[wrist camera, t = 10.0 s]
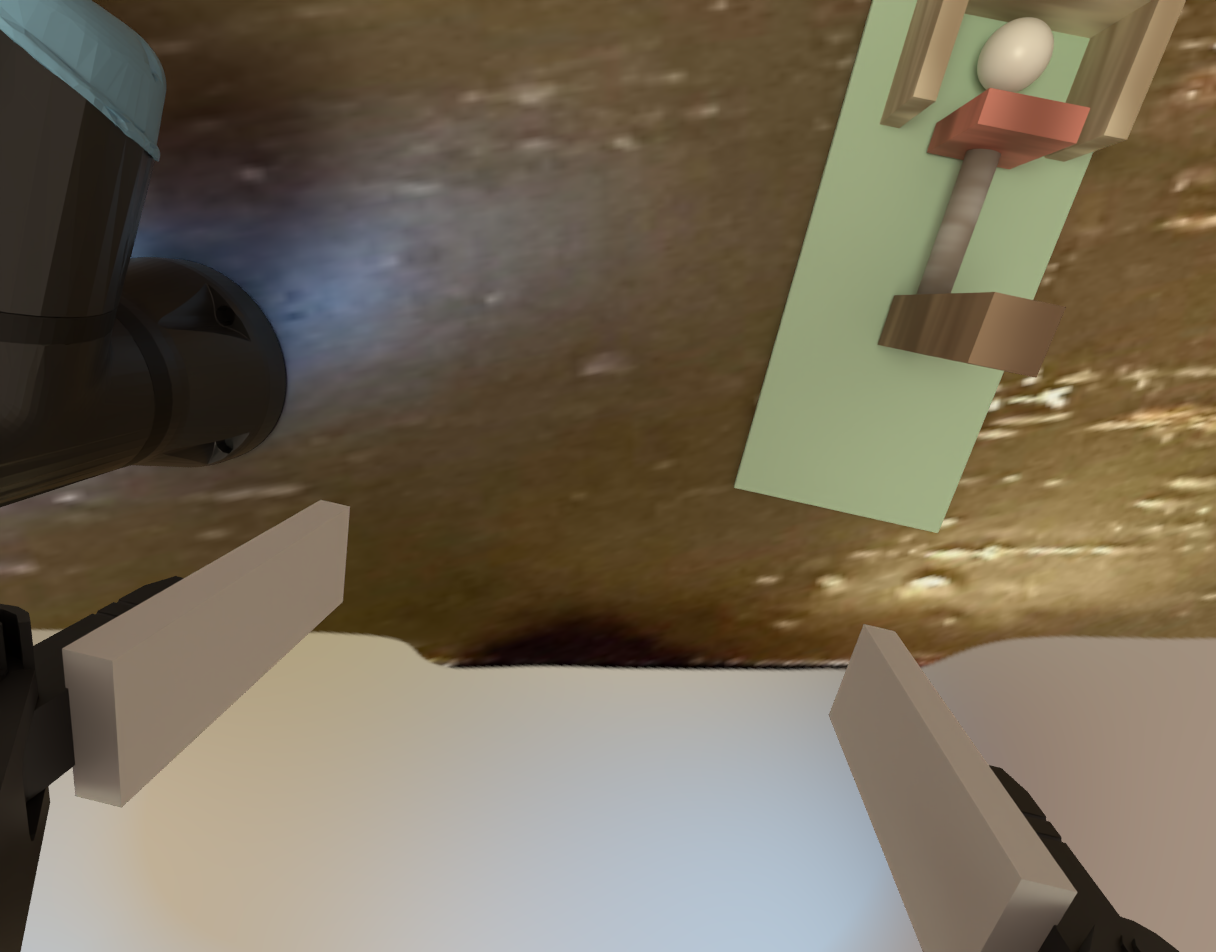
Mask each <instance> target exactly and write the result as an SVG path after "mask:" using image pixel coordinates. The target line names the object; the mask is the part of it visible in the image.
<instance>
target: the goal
mask: <svg viewBox="0 0 1216 952" xmlns="http://www.w3.org/2000/svg"><path fill="white" fill-rule="evenodd" d="M1185 1H1186V0H917V3H916V6H915V9H914V13H913V16H912V19H911V23H910V26H909V29H908V32H907V36H906V39H905V42H904V46H903V49H902V52H901V55H900V59H899V62H898V65H897V69H896V72H895V75H894V78H893V82H892V85H891V88H890V92H889V95H888V98H887V101H886V105H885V108H884V111H883V115H882V118H881V121H880V125H885V126H890V127H895V128H900V127H902V126H903V125H904V124H906V123H907V122H908V121H910V120H911V119H912V118H914V117H915V116H916V115H918V114H919V113H920V112H922V111H923V110H924V109H926V108H927V107H929V106H930V105H931V104H933V103H934V102H935V101H936V99H937V96H938V93H939V90H940V87H941V84H942V81H943V78H944V74H945V71H946V68H947V65H948V62H949V59H950V56H951V53H952V50H953V47H954V44H955V41H956V38H957V35H958V32H959V29H960V25H961V22H962V19H963V16H964V14H968V15H974V16H979V17H984V18H989V19H994V20H999V21H1004V22H1010V21H1012V20H1015V19H1018V18H1023V17H1034V18H1038V19H1040V20H1042V21H1044V22H1045V23H1046V24H1047V25H1048V26H1049V27H1050V29H1051V31H1055V32H1060V33H1065V34H1070V35H1075V36H1080V37H1085V38H1090V40H1089V43H1088V45H1087V48H1086V50H1085V53H1084V56H1083V58H1082V61H1081V63H1080V66H1079V69H1078V71H1077V74H1076V76H1075V79H1074V82H1073V84H1072V87H1071V89H1070V92H1069V95H1068V97H1067V100H1066V102H1065V103H1069V104H1074V105H1079V106H1084V107H1089V108H1090V111H1089V113H1088V116H1087V118H1086V121H1085V123H1084V126H1083V128H1082V131H1081V133H1080V136H1079V138H1078V141H1077V143H1076V144H1074V145H1071V146H1069V147H1066V148H1064V149H1061V150H1058V151H1056V152H1053V153H1051V154H1048V155H1045V157H1044V158H1048V159H1053V160H1057V161H1062V162H1065V161H1068V160H1071V159H1074V158H1076V157H1079V156H1082V155H1085V154H1088V153H1091V152H1093V151H1096V150H1099V149H1102V148H1105V147H1108V146H1111V145H1113V144H1116V143H1119V142H1122V141H1125V140H1127V139H1128V136H1129V134H1130V132H1131V129H1132V127H1133V124H1134V122H1135V120H1136V117H1137V115H1138V113H1139V110H1140V108H1141V105H1142V103H1143V101H1144V98H1145V96H1146V94H1147V91H1148V89H1149V86H1150V84H1151V82H1152V79H1153V77H1154V75H1155V72H1156V70H1157V67H1158V65H1159V63H1160V60H1161V58H1162V55H1163V53H1164V51H1165V48H1166V46H1167V44H1168V41H1169V39H1170V36H1171V34H1172V32H1173V29H1174V27H1175V25H1176V22H1177V20H1178V17H1179V15H1180V13H1181V10H1182V8H1183V6H1184V3H1185Z"/></svg>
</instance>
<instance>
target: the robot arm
mask: <svg viewBox="0 0 1216 952" xmlns="http://www.w3.org/2000/svg"><path fill="white" fill-rule="evenodd" d="M165 95H166V78H165V73H164V70H163V67H162V65H161V63H160V61H159V59H158V57H157V56H156V54H155V52H154V51H153V50H152V48H151V47H150V46H149V45H148V43H147V42H146V41H145V40H144V39H143V38H142V37H141V36H140V35H139V34H137V33H136V32H135V31H134V30H133V29H131V28H130V27H129V26H127V25H126V24H124V23H123V22H122V21H120V20H119V19H118V18H116V17H115V16H113V15H112V14H110V13H109V12H108V11H106V10H105V9H103V8H102V7H100V6H99V5H98V4H96V3H95V2H93V1H92V0H0V507H3V506H6V505H9V504H12V503H15V502H18V501H21V500H24V499H27V498H30V497H33V496H36V495H39V494H43V493H46V492H49V491H52V490H55V489H58V488H61V487H64V486H67V485H70V484H73V483H76V482H79V481H82V480H85V479H88V478H92V477H95V476H98V475H101V474H104V473H107V472H110V471H113V470H116V469H120V468H123V467H126V466H129V465H143V466H167V467H202V466H209V465H214V464H217V463H221V462H224V461H226V460H229V459H232V458H235V457H237V456H240V455H243V454H245V453H247V452H249V451H250V450H252V449H254V448H255V447H256V446H258V445H259V444H260V443H261V442H262V441H263V440H264V439H265V438H266V437H267V436H268V435H269V433H270V432H271V431H272V429H273V428H274V426H275V424H276V422H277V420H278V418H279V416H280V413H281V410H282V407H283V403H284V398H285V389H286V376H285V366H284V361H283V356H282V352H281V349H280V346H279V343H278V340H277V338H276V335H275V333H274V331H273V329H272V327H271V325H270V323H269V322H268V320H267V318H266V317H265V315H264V314H263V312H262V311H261V309H260V308H259V307H258V305H257V304H256V303H255V302H254V301H253V300H252V298H251V297H250V296H249V295H248V294H247V293H246V292H245V291H244V290H243V289H241V288H240V287H239V286H238V285H237V284H236V283H234V282H233V281H232V280H230V279H229V278H227V277H226V276H224V275H223V274H221V273H219V272H217V271H215V270H213V269H212V268H209V267H207V266H205V265H202V264H199V263H196V262H192V261H188V260H182V259H171V258H160V257H138V258H131V254H132V250H133V246H134V242H135V238H136V234H137V230H138V226H139V222H140V218H141V214H142V210H143V206H144V202H145V198H146V194H147V190H148V186H149V182H150V178H151V174H152V170H153V166H154V162H155V161H158V162H159V159H160V151H159V148H158V147H157V140H158V135H159V129H160V123H161V118H162V112H163V106H164V101H165ZM130 258H131V259H130ZM349 512H350V506H345V505H341V504H337V503H332V502H328V501H323V500H320V501H318V502H316V503H314V504H313V505H311V506H309V507H308V508H306V509H304V510H302V511H301V512H299V513H297V514H295V515H294V516H292V517H290V518H288V519H287V520H285V521H283V522H281V523H280V524H278V525H276V526H274V527H273V528H271V529H269V530H268V531H266V532H264V533H262V534H261V535H259V536H257V537H255V538H254V539H252V540H250V541H248V542H247V543H245V544H243V545H241V546H240V547H238V548H236V549H234V550H233V551H231V552H229V553H227V554H226V555H224V556H222V557H221V558H219V559H217V560H215V561H214V562H212V563H210V564H208V565H207V566H205V567H203V568H201V569H200V570H198V571H196V572H194V573H193V574H191V575H189V576H187V577H186V578H181V577H177V576H174V577H171V578H168V579H164V580H161V581H158V582H155V583H151V584H148V585H145V586H143V587H141V588H139V589H137V590H135V591H133V592H132V593H130V594H128V595H126V596H124V597H122V598H121V599H119V601H118V602H117V603H115V602H113V603H111V604H109V605H108V606H106V607H104V608H102V609H100V610H98V612H97V614H96V615H95V614H91V615H89V616H87V617H86V618H84V619H82V620H80V621H78V622H76V623H75V624H73V625H71V626H69V627H67V628H65V629H64V630H62V631H60V632H58V633H56V634H54V635H53V636H51V637H49V638H47V639H46V640H43V641H42V642H40V643H38V644H36V645H35V646H33V642H32V632H31V623H30V617H29V613H28V612H26V611H25V610H23V609H21V608H19V607H17V606H10V605H4V604H0V952H20V951H21V946H22V941H23V936H24V931H25V926H26V921H27V916H28V911H29V905H30V900H31V896H32V891H33V886H34V881H35V876H36V871H37V866H38V861H39V856H40V851H41V845H42V841H43V836H44V830H45V825H46V820H47V815H48V810H49V805H50V798H49V788H48V786H49V785H50V784H51V783H52V782H54V781H55V780H56V779H58V778H59V777H60V776H61V775H63V774H64V773H65V772H67V771H68V770H69V769H70V768H72V767H73V774H74V785H75V796H77V797H81V798H86V799H90V800H94V801H98V802H102V803H106V804H110V805H114V806H118V807H123V806H124V805H125V804H126V802H128V801H129V800H130V799H131V798H132V797H133V796H134V795H135V794H136V793H138V792H139V791H140V790H141V789H142V788H143V787H144V786H145V785H146V784H147V783H148V782H149V781H150V780H151V779H153V777H155V776H156V775H157V774H158V773H159V772H160V771H161V770H162V769H163V768H164V767H166V766H167V765H168V764H169V762H171V761H172V760H173V759H174V758H175V757H176V756H177V755H178V754H179V753H181V752H182V751H183V750H184V749H185V748H186V747H187V746H188V745H189V744H190V743H191V742H192V741H193V740H194V739H195V738H197V737H198V736H199V735H200V734H201V733H202V732H203V731H204V730H205V729H206V728H207V727H208V726H209V725H211V724H212V723H213V722H214V721H215V720H216V719H217V718H218V717H219V716H220V715H221V714H222V713H223V712H224V711H226V710H227V709H228V708H229V707H230V706H231V705H232V704H233V703H234V702H235V701H236V700H238V699H239V697H241V695H243V694H244V693H245V692H246V691H247V690H248V689H249V688H250V687H251V686H253V685H254V684H255V683H256V682H257V681H258V680H259V679H260V678H261V677H262V676H263V675H264V674H265V673H267V672H268V671H269V670H270V669H271V668H272V667H273V666H274V665H275V664H276V663H277V662H278V661H279V660H281V659H282V658H283V657H284V656H285V655H286V654H287V653H288V652H289V651H290V650H291V649H292V648H293V647H294V646H295V645H297V644H298V643H299V642H300V641H301V640H302V639H303V638H304V637H305V636H306V635H307V634H308V633H310V632H311V631H312V630H313V629H314V628H315V627H316V626H317V625H318V624H319V623H320V622H321V621H322V620H324V619H325V618H326V617H327V616H328V615H329V614H330V613H331V612H332V611H333V610H334V609H335V608H336V607H337V606H339V605H340V604H341V603H342V602H343V592H344V579H345V566H346V552H347V539H348V526H349ZM829 717H830V720H831V722H832V725H833V727H834V729H835V732H836V735H837V737H838V740H839V742H840V745H841V747H842V749H843V752H844V755H845V757H846V760H847V762H848V765H849V767H850V770H851V772H852V775H853V777H854V780H855V782H856V785H857V787H858V790H859V792H860V795H861V797H862V800H863V802H864V805H865V807H866V810H867V812H868V815H869V817H870V820H871V822H872V825H873V827H874V830H875V833H876V835H877V838H878V840H879V843H880V845H881V848H882V850H883V852H884V855H885V858H886V860H887V862H888V865H889V868H890V870H891V873H892V875H893V878H894V880H895V883H896V885H897V888H898V890H899V893H900V895H901V898H902V900H903V903H904V905H905V908H906V910H907V913H908V915H909V918H910V921H911V923H912V925H913V928H914V930H915V933H916V935H917V938H918V941H919V943H920V946H921V948H922V951H923V952H1179V951H1178V950H1176V949H1175V948H1174V947H1173V946H1172V945H1170V944H1169V943H1168V942H1166V941H1165V940H1164V939H1162V938H1161V937H1160V936H1158V935H1157V934H1156V933H1154V932H1152V931H1150V930H1148V929H1147V928H1145V927H1143V926H1141V925H1140V924H1138V923H1136V922H1134V921H1132V920H1129V919H1126V918H1122V917H1120V916H1119V914H1118V913H1117V912H1116V911H1115V909H1114V908H1113V906H1112V905H1111V904H1110V902H1109V901H1108V900H1107V898H1106V897H1105V896H1104V894H1103V893H1102V892H1101V890H1100V889H1099V888H1098V886H1097V885H1096V884H1095V882H1094V881H1093V879H1092V878H1091V877H1090V875H1089V874H1088V873H1087V871H1086V870H1085V869H1084V867H1083V866H1082V865H1081V863H1080V862H1079V861H1078V859H1077V858H1076V856H1075V855H1074V854H1073V852H1072V851H1071V850H1070V848H1069V847H1068V846H1067V844H1066V843H1063V842H1062V841H1061V836H1060V835H1059V834H1058V832H1057V831H1056V830H1055V828H1054V827H1053V825H1052V824H1051V823H1050V822H1048V821H1046V816H1045V815H1044V813H1043V812H1042V811H1041V809H1040V808H1039V807H1038V805H1037V804H1036V803H1035V801H1034V800H1033V799H1032V797H1031V796H1030V794H1029V793H1028V792H1027V791H1026V790H1025V789H1024V788H1023V787H1021V786H1020V785H1019V784H1018V783H1017V782H1016V781H1015V780H1014V779H1013V778H1012V777H1011V776H1009V775H1008V774H1007V773H1006V772H1005V771H1004V770H1003V769H1001V768H998V767H994V766H990V765H988V764H987V762H986V761H985V760H984V758H983V757H982V756H981V754H980V753H979V751H978V750H977V748H976V747H975V745H974V744H973V742H972V741H971V740H970V738H969V737H968V735H967V734H966V732H965V731H964V729H963V728H962V727H961V725H960V724H959V722H958V721H957V720H956V718H955V717H954V715H953V714H952V712H951V711H950V709H949V708H948V707H947V705H946V704H945V702H944V701H943V700H942V698H941V697H940V695H939V694H938V692H937V691H936V689H935V688H934V687H933V685H932V684H931V682H930V681H929V680H928V678H927V677H926V675H925V674H924V672H923V671H922V669H921V668H920V667H919V665H918V664H917V662H916V661H915V659H914V658H913V657H912V655H911V654H910V652H909V651H908V649H907V648H906V647H905V645H904V644H903V642H902V641H901V639H900V638H899V637H898V635H897V634H896V632H895V631H891V630H887V629H883V628H878V627H874V626H870V625H865V624H864V625H863V628H862V630H861V633H860V636H859V638H858V641H857V643H856V646H855V649H854V651H853V654H852V656H851V659H850V662H849V664H848V667H847V669H846V672H845V675H844V677H843V680H842V682H841V685H840V688H839V690H838V693H837V695H836V698H835V700H834V703H833V706H832V708H831V711H830V713H829Z"/></svg>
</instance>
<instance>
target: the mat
mask: <svg viewBox="0 0 1216 952" xmlns="http://www.w3.org/2000/svg"><path fill="white" fill-rule="evenodd" d="M916 3H917V0H872V3H871V6H870V10H869V13H868V17H867V20H866V24H865V27H864V31H863V34H862V38H861V41H860V45H859V48H858V52H857V55H856V59H855V62H854V66H853V69H852V73H851V76H850V80H849V83H848V87H847V90H846V94H845V97H844V101H843V104H842V108H841V111H840V115H839V119H838V122H837V126H836V129H835V133H834V136H833V140H832V143H831V147H830V150H829V154H828V157H827V161H826V164H825V168H824V171H823V175H822V178H821V182H820V185H819V189H818V192H817V196H816V199H815V203H814V206H813V210H812V213H811V217H810V220H809V224H808V227H807V231H806V234H805V238H804V241H803V245H802V248H801V252H800V255H799V259H798V262H797V266H796V269H795V273H794V276H793V280H792V283H791V287H790V290H789V294H788V297H787V301H786V305H785V308H784V312H783V315H782V319H781V322H780V326H779V329H778V333H777V336H776V340H775V343H774V347H773V350H772V354H771V357H770V361H769V364H768V368H767V371H766V375H765V378H764V382H763V385H762V389H761V392H760V396H759V399H758V403H757V406H756V410H755V413H754V417H753V420H752V424H751V427H750V431H749V434H748V438H747V441H746V445H745V448H744V452H743V455H742V459H741V462H740V466H739V469H738V473H737V476H736V480H735V483H734V488H738V489H743V490H747V491H752V492H756V493H761V494H765V495H770V496H774V497H779V498H783V499H787V500H792V501H796V502H801V503H805V504H810V505H814V506H819V507H823V508H828V509H832V510H837V511H841V512H846V513H850V514H855V515H859V516H864V517H868V518H873V519H877V520H881V521H886V522H890V523H895V524H899V525H904V526H908V527H913V528H917V529H922V530H926V531H931V532H935V533H938V532H939V529H940V527H941V524H942V522H943V520H944V517H945V515H946V512H947V510H948V507H949V505H950V502H951V500H952V497H953V495H954V493H955V490H956V488H957V485H958V483H959V480H960V478H961V475H962V473H963V470H964V468H965V466H966V463H967V461H968V458H969V456H970V453H971V451H972V448H973V446H974V443H975V441H976V439H977V436H978V434H979V431H980V429H981V426H982V424H983V421H984V419H985V416H986V414H987V412H988V409H989V407H990V404H991V402H992V399H993V397H994V394H995V392H996V389H997V387H998V385H999V382H1000V380H1001V377H1002V375H1003V372H1004V371H1002V370H997V369H992V368H987V367H982V366H977V365H972V364H967V363H962V362H957V361H952V360H947V359H942V358H937V357H932V356H927V355H923V354H918V353H913V352H909V351H904V350H899V349H895V348H890V347H885V346H881V345H878V342H879V339H880V336H881V333H882V330H883V327H884V324H885V321H886V318H887V315H888V312H889V309H890V306H891V303H892V300H893V298H894V295H915V294H917V291H918V289H919V286H920V283H921V280H922V277H923V274H924V271H925V268H926V266H927V263H928V260H929V257H930V254H931V251H932V248H933V245H934V243H935V240H936V237H937V234H938V231H939V228H940V225H941V223H942V220H943V217H944V214H945V211H946V208H947V205H948V202H949V200H950V197H951V194H952V191H953V188H954V185H955V182H956V180H957V177H958V174H959V171H960V168H961V165H962V162H963V160H960V159H955V158H951V157H946V156H941V155H936V154H931V153H927V150H928V147H929V144H930V141H931V138H932V135H933V132H934V129H935V126H936V123H937V122H939V121H940V120H942V119H943V118H945V117H946V116H948V115H949V114H951V113H952V112H954V111H955V110H957V109H958V108H960V107H962V106H963V105H965V104H966V103H968V102H969V101H971V100H972V99H974V98H975V97H977V96H978V95H980V94H981V93H983V92H984V91H986V89H985V88H984V87H983V86H982V84H981V83H980V81H979V78H978V74H977V63H978V58H979V55H980V53H981V50H982V48H983V46H984V45H985V43H986V42H987V40H988V39H989V38H990V37H991V35H992V34H993V33H994V32H995V31H996V30H998V29H999V28H1000V27H1002V26H1003V25H1005V24H1006V23H1008V22H1004V21H999V20H994V19H989V18H984V17H979V16H974V15H968V14H964V16H963V19H962V22H961V25H960V29H959V32H958V35H957V38H956V41H955V44H954V47H953V50H952V53H951V56H950V59H949V62H948V65H947V68H946V71H945V74H944V78H943V81H942V84H941V87H940V90H939V93H938V96H937V99H936V101H935V102H934V103H933V104H931V105H930V106H929V107H927V108H926V109H924V110H923V111H922V112H920V113H919V114H918V115H916V116H915V117H914V118H912V119H911V120H910V121H908V122H907V123H906V124H904V125H903V126H902V127H900V128H895V127H890V126H885V125H880V121H881V118H882V115H883V111H884V108H885V105H886V101H887V98H888V95H889V92H890V88H891V85H892V82H893V78H894V75H895V72H896V69H897V65H898V62H899V59H900V55H901V52H902V49H903V46H904V42H905V39H906V36H907V32H908V29H909V26H910V23H911V19H912V16H913V13H914V9H915V6H916ZM1052 33H1053V37H1054V49H1053V53H1052V57H1051V59H1050V62H1049V64H1048V65H1047V67H1046V69H1045V70H1044V72H1043V73H1042V74H1041V75H1040V76H1039V78H1038V79H1037V80H1035V81H1034V82H1033V83H1032V84H1031V85H1029V86H1028V87H1026V88H1024V89H1023V90H1021V91H1018V92H1016V93H1019V94H1024V95H1029V96H1034V97H1039V98H1044V99H1049V100H1054V101H1059V102H1064V103H1065V102H1066V100H1067V97H1068V95H1069V92H1070V89H1071V87H1072V84H1073V82H1074V79H1075V76H1076V74H1077V71H1078V69H1079V66H1080V63H1081V61H1082V58H1083V56H1084V53H1085V50H1086V48H1087V45H1088V43H1089V40H1090V38H1085V37H1080V36H1075V35H1070V34H1065V33H1060V32H1055V31H1052ZM1092 154H1093V152H1091V153H1088V154H1085V155H1082V156H1079V157H1076V158H1074V159H1071V160H1068V161H1065V162H1062V161H1057V160H1053V159H1048V158H1044V157H1045V156H1043V157H1040V158H1038V159H1035V160H1032V161H1030V162H1027V163H1025V164H1022V165H1019V166H1017V167H1014V168H1012V169H1004V168H1000V167H997V168H996V171H995V173H994V176H993V179H992V182H991V184H990V187H989V190H988V193H987V195H986V198H985V201H984V204H983V206H982V209H981V212H980V214H979V217H978V220H977V223H976V225H975V228H974V231H973V234H972V236H971V239H970V242H969V245H968V247H967V250H966V253H965V256H964V258H963V261H962V264H961V266H960V269H959V272H958V275H957V277H956V280H955V283H954V286H953V288H952V291H951V293H979V292H997V293H1002V294H1007V295H1011V296H1016V297H1021V298H1026V299H1030V300H1033V299H1034V296H1035V294H1036V291H1037V289H1038V286H1039V284H1040V282H1041V279H1042V277H1043V274H1044V272H1045V269H1046V267H1047V264H1048V262H1049V259H1050V257H1051V255H1052V252H1053V250H1054V247H1055V245H1056V242H1057V240H1058V237H1059V235H1060V232H1061V230H1062V228H1063V225H1064V223H1065V220H1066V218H1067V215H1068V213H1069V210H1070V208H1071V205H1072V203H1073V201H1074V198H1075V196H1076V193H1077V191H1078V188H1079V186H1080V183H1081V181H1082V178H1083V176H1084V174H1085V171H1086V169H1087V166H1088V164H1089V161H1090V159H1091V156H1092Z"/></svg>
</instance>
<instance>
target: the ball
mask: <svg viewBox="0 0 1216 952" xmlns="http://www.w3.org/2000/svg"><path fill="white" fill-rule="evenodd" d="M1053 49H1054V37H1053V33H1052V31H1051V29H1050V27H1049V26H1048V25H1047V24H1046V23H1045V22H1044V21H1042V20H1040V19H1038V18H1034V17H1023V18H1018V19H1015V20H1012V21H1010V22H1008V23H1006V24H1005V25H1003V26H1002V27H1000V28H999V29H998V30H996V31H995V32H994V33H993V34H992V35H991V37H990V38H989V39H988V40H987V42H986V43H985V45H984V46H983V48H982V50H981V53H980V55H979V58H978V63H977V74H978V78H979V81H980V83H981V84H982V86H983V87H984V88H985V89H986V90H987V89H989V88H994V89H999V90H1004V91H1009V92H1014V93H1016V92H1018V91H1021V90H1023V89H1024V88H1026V87H1028V86H1029V85H1031V84H1032V83H1033V82H1034V81H1035V80H1037V79H1038V78H1039V76H1040V75H1041V74H1042V73H1043V72H1044V70H1045V69H1046V67H1047V65H1048V64H1049V62H1050V59H1051V57H1052V53H1053Z"/></svg>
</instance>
